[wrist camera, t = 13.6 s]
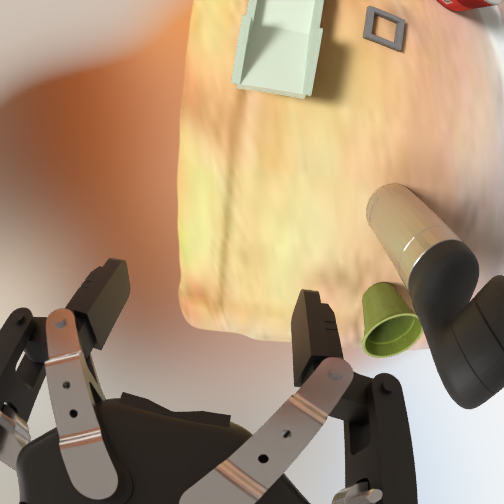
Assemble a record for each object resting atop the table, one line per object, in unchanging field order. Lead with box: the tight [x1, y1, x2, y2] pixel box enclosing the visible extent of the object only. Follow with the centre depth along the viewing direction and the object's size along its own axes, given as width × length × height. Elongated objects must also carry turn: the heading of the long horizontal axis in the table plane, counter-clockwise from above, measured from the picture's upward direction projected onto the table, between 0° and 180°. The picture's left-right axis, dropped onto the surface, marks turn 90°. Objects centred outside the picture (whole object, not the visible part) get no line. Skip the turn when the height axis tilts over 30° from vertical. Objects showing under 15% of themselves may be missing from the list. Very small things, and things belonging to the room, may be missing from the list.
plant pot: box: [362, 283, 423, 358], centre depth 46 cm, size 12×12×11 cm
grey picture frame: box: [363, 6, 405, 51], centre depth 25 cm, size 6×6×1 cm
